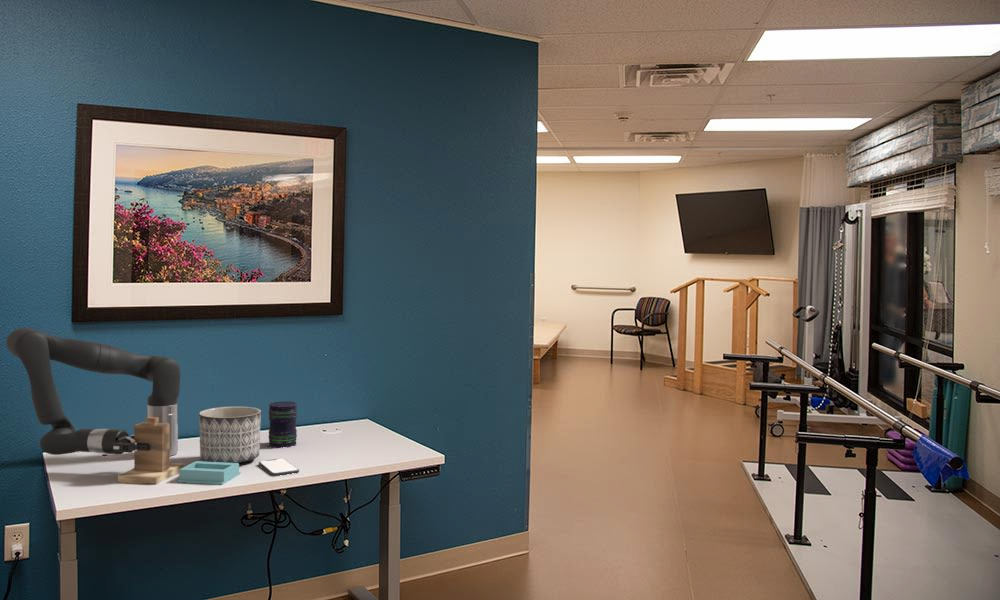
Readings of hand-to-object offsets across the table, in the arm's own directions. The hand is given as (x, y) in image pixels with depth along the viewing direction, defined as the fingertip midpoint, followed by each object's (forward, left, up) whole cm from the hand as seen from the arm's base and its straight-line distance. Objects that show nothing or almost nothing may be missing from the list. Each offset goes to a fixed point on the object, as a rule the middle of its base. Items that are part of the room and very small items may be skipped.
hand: (158, 443), depth 235 cm
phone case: (-15, +32, -11) cm, 37 cm away
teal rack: (-1, +16, -10) cm, 19 cm away
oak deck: (0, -2, -10) cm, 10 cm away
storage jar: (-46, +21, -10) cm, 52 cm away
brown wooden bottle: (0, -2, -8) cm, 8 cm away
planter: (-21, +13, -10) cm, 27 cm away
